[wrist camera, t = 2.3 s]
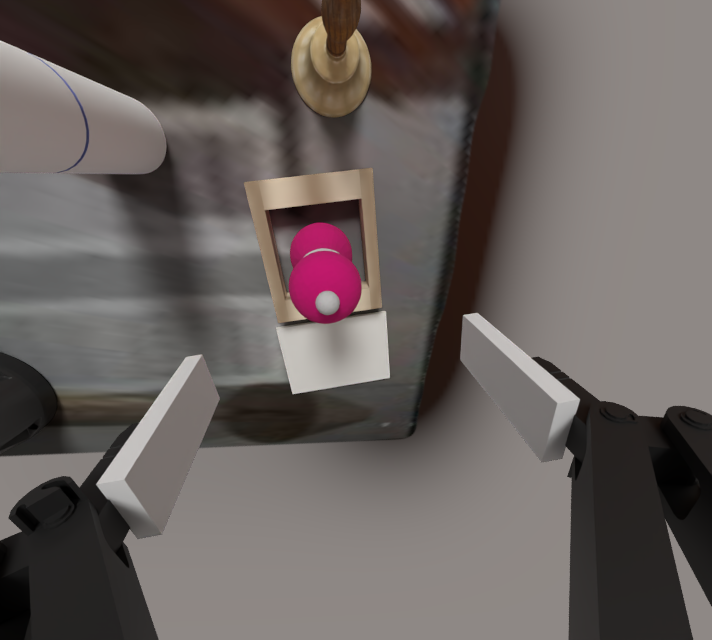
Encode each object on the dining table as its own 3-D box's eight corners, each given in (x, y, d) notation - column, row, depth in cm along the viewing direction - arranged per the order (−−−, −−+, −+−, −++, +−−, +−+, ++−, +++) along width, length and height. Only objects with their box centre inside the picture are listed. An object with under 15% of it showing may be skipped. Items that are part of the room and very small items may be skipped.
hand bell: (337, 135, 34) (356, 105, 19) (275, 72, 31) (243, -18, 16) (386, 67, 32) (448, -21, 17) (325, -8, 28) (339, -191, 14)
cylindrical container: (159, 186, 33) (-146, 206, 11) (85, 154, 31) (-474, 100, 9) (173, 118, 31) (-182, -31, 9) (93, 78, 29) (-643, -252, 7)
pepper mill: (357, 258, 40) (393, 325, 22) (309, 283, 41) (308, 366, 23) (332, 207, 37) (351, 237, 19) (281, 234, 37) (253, 287, 20)
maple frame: (280, 313, 42) (278, 323, 39) (248, 181, 34) (243, 182, 32) (377, 299, 43) (381, 307, 40) (367, 168, 35) (372, 167, 33)
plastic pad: (292, 392, 48) (292, 394, 48) (276, 327, 43) (276, 328, 42) (389, 376, 49) (389, 377, 49) (385, 310, 44) (385, 312, 44)
